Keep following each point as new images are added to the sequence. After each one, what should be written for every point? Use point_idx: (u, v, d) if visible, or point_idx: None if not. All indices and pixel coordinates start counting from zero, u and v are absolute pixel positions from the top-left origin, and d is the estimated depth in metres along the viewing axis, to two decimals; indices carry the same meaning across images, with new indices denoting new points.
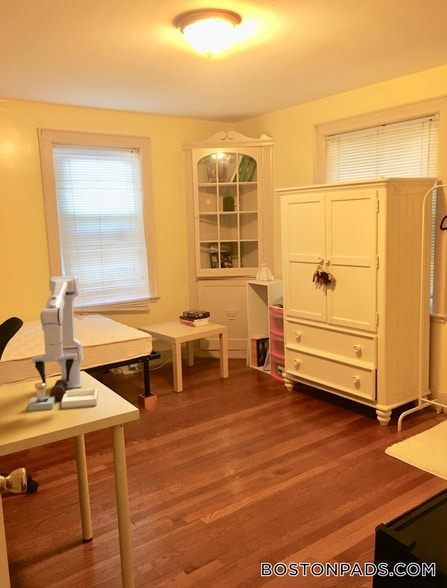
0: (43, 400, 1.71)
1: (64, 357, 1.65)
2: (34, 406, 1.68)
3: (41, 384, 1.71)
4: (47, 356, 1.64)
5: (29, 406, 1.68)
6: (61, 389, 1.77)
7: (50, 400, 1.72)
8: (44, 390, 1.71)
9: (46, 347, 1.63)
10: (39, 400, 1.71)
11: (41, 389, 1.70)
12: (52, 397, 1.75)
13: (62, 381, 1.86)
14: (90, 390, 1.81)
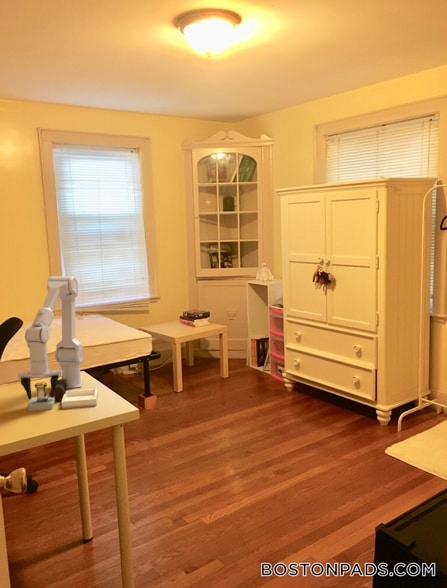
0: (43, 400, 1.71)
1: (49, 374, 1.70)
2: (34, 406, 1.68)
3: (41, 384, 1.71)
4: (32, 373, 1.68)
5: (29, 406, 1.68)
6: (61, 389, 1.77)
7: (50, 400, 1.72)
8: (44, 390, 1.71)
9: (31, 364, 1.68)
10: (39, 400, 1.71)
11: (41, 389, 1.70)
12: None
13: (62, 381, 1.86)
14: (90, 390, 1.81)
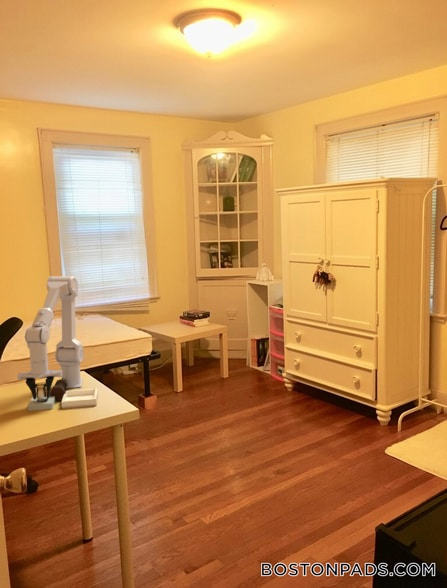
0: (43, 400, 1.71)
1: (49, 374, 1.70)
2: (34, 406, 1.68)
3: (41, 384, 1.71)
4: (32, 373, 1.68)
5: (29, 406, 1.68)
6: (61, 389, 1.77)
7: (50, 400, 1.72)
8: (44, 390, 1.71)
9: (31, 364, 1.68)
10: (39, 400, 1.71)
11: (41, 389, 1.70)
12: (52, 397, 1.75)
13: (62, 381, 1.86)
14: (90, 390, 1.81)
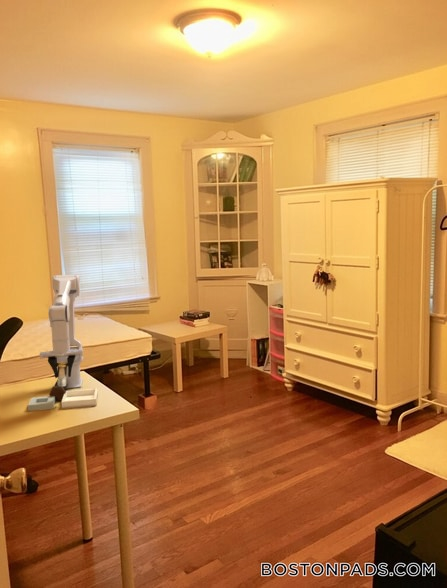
0: (63, 379, 1.72)
1: (71, 353, 1.71)
2: (34, 406, 1.68)
3: (63, 363, 1.72)
4: (54, 352, 1.70)
5: (29, 406, 1.68)
6: (61, 389, 1.77)
7: (50, 400, 1.72)
8: (65, 369, 1.72)
9: (53, 343, 1.69)
10: (59, 379, 1.72)
11: (62, 368, 1.71)
12: (52, 397, 1.75)
13: None
14: (90, 390, 1.81)
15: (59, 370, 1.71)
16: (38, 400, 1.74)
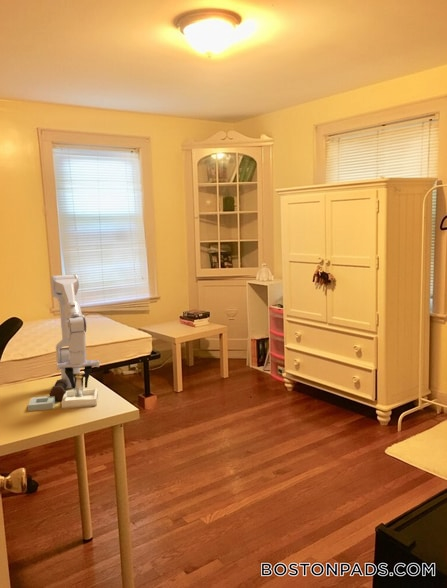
0: (80, 390, 1.74)
1: (88, 364, 1.73)
2: (34, 406, 1.68)
3: (80, 374, 1.74)
4: (71, 363, 1.72)
5: (29, 406, 1.68)
6: (61, 389, 1.77)
7: (50, 400, 1.72)
8: (82, 380, 1.74)
9: (71, 354, 1.71)
10: (76, 390, 1.74)
11: (79, 379, 1.73)
12: (52, 397, 1.75)
13: (62, 381, 1.86)
14: (90, 390, 1.81)
15: (76, 381, 1.73)
16: (38, 400, 1.74)
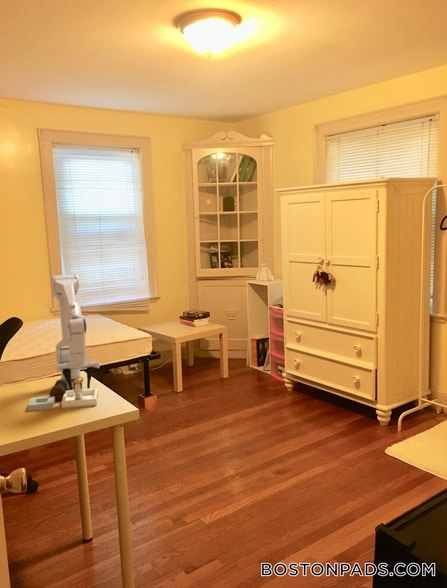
0: (80, 394, 1.74)
1: (88, 365, 1.73)
2: (34, 406, 1.68)
3: (78, 379, 1.74)
4: (72, 364, 1.72)
5: (29, 406, 1.68)
6: (61, 389, 1.77)
7: (50, 400, 1.72)
8: (81, 385, 1.75)
9: (71, 355, 1.71)
10: (76, 394, 1.74)
11: (78, 384, 1.74)
12: (52, 397, 1.75)
13: (62, 381, 1.86)
14: (90, 390, 1.81)
15: (75, 386, 1.74)
16: (38, 400, 1.74)
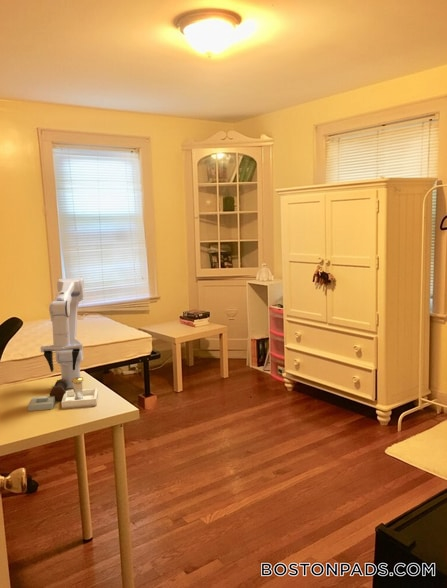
0: (80, 394, 1.74)
1: (71, 346, 1.77)
2: (34, 406, 1.68)
3: (78, 379, 1.74)
4: (55, 345, 1.76)
5: (29, 406, 1.68)
6: (61, 389, 1.77)
7: (50, 400, 1.72)
8: (81, 385, 1.74)
9: (54, 337, 1.76)
10: (76, 394, 1.74)
11: (78, 384, 1.74)
12: (52, 397, 1.75)
13: (62, 381, 1.86)
14: (90, 390, 1.81)
15: (75, 386, 1.74)
16: (38, 400, 1.74)
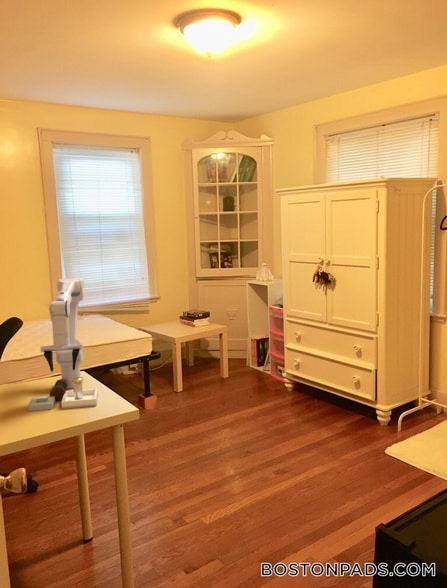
0: (80, 394, 1.74)
1: (71, 346, 1.77)
2: (34, 406, 1.68)
3: (78, 379, 1.74)
4: (55, 345, 1.76)
5: (29, 406, 1.68)
6: (61, 389, 1.77)
7: (50, 400, 1.72)
8: (81, 384, 1.75)
9: (54, 337, 1.76)
10: (76, 394, 1.74)
11: (78, 383, 1.74)
12: (52, 397, 1.75)
13: (62, 381, 1.86)
14: (90, 390, 1.81)
15: (75, 386, 1.74)
16: (38, 400, 1.74)
